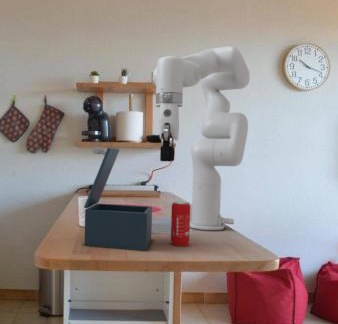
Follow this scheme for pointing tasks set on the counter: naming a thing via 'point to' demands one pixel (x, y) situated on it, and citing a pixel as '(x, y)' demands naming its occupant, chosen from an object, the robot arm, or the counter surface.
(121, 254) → the counter surface
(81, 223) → the white cup
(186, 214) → the beverage can
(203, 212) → the robot arm
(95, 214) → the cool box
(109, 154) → the lid
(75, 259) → the counter surface
